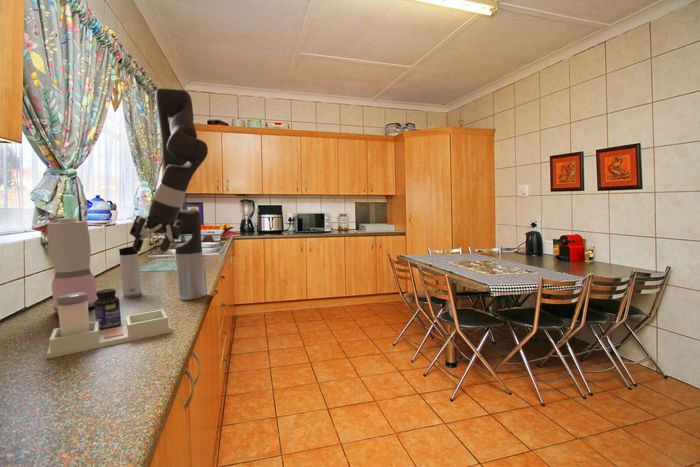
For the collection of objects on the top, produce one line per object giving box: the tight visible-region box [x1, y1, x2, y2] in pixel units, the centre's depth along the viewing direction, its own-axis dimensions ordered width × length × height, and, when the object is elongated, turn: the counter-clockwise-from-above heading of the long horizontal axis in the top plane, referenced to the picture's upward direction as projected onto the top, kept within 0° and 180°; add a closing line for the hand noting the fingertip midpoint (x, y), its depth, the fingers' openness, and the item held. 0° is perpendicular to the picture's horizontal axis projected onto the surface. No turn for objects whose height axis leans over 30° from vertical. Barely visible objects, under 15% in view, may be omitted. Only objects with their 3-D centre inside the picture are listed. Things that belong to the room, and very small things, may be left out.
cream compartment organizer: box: [45, 293, 173, 359], centre depth 96 cm, size 27×11×13 cm, turn 124°
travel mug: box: [118, 245, 143, 298], centre depth 141 cm, size 6×7×20 cm
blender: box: [46, 217, 98, 316], centre depth 125 cm, size 16×12×32 cm
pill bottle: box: [93, 288, 122, 330], centre depth 105 cm, size 6×6×11 cm
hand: (149, 250), depth 106 cm, fingers open, 8 cm apart
